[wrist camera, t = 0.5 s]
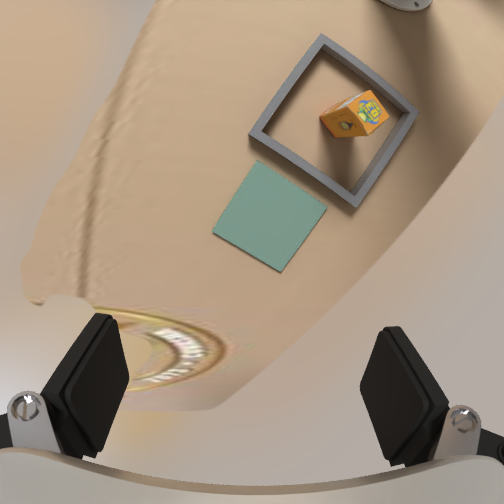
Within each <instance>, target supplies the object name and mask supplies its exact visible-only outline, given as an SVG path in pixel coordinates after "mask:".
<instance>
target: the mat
mask: <svg viewBox="0 0 504 504" xmlns="http://www.w3.org/2000/svg"><path fill="white" fill-rule="evenodd" d="M326 208H327V206H325V205H324V204H322V203H321V202H320V201H318V200H317V199H315V198H314V197H312V196H311V195H309V194H308V193H307V192H305V191H304V190H302V189H301V188H299V187H298V186H296V185H295V184H293V183H292V182H290V181H289V180H287V179H286V178H284V177H283V176H281V175H280V174H278V173H277V172H275V171H273V170H272V169H270V168H269V167H267V166H266V165H264V164H263V163H261V162H259V161H258V160H257V161H256V163H255V164H254V166H253V167H252V169H251V170H250V172H249V173H248V175H247V176H246V178H245V180H244V181H243V183H242V184H241V186H240V187H239V189H238V190H237V192H236V193H235V195H234V197H233V198H232V200H231V201H230V203H229V204H228V206H227V208H226V209H225V211H224V212H223V214H222V216H221V217H220V219H219V220H218V222H217V224H216V225H215V227H214V228H213V230H212V232H214V233H215V234H217V235H219V236H221V237H222V238H224V239H226V240H227V241H229V242H231V243H232V244H234V245H236V246H237V247H239V248H241V249H243V250H244V251H246V252H248V253H249V254H251V255H253V256H254V257H256V258H258V259H259V260H261V261H263V262H265V263H266V264H268V265H270V266H271V267H273V268H275V269H276V270H278V271H280V272H281V271H282V270H283V268H284V267H285V265H286V264H287V263H288V261H289V260H290V259H291V257H292V256H293V255H294V253H295V252H296V250H297V249H298V248H299V246H300V245H301V244H302V242H303V241H304V239H305V238H306V237H307V235H308V234H309V232H310V231H311V230H312V228H313V227H314V225H315V224H316V223H317V221H318V220H319V218H320V217H321V216H322V214H323V213H324V211H325V210H326Z"/></svg>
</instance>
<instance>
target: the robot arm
mask: <svg viewBox="0 0 504 504" xmlns="http://www.w3.org/2000/svg"><path fill="white" fill-rule="evenodd" d="M380 1H382V2H383V3H385V4H387V5H389V6H391V7H393V8H397V9H399V10H404V11H419V10H422V9H424V8H426V7H427V6H428V5H430V3H431V2H432V0H380ZM128 382H129V372H128V368H127V364H126V360H125V356H124V352H123V348H122V344H121V339H120V334H119V329H118V324H117V321H116V320H115V319H113V317H112V316H111V315H109V314H101V313H95V314H94V316H93V317H92V318H91V320H90V321H89V322H88V324H87V325H86V326H85V328H84V329H83V331H82V332H81V334H80V335H79V336H78V338H77V339H76V341H75V342H74V343H73V345H72V346H71V348H70V349H69V351H68V352H67V354H66V355H65V357H64V358H63V360H62V361H61V362H60V364H59V365H58V367H57V368H56V370H55V372H54V373H53V374H52V376H51V378H50V379H49V381H48V382H47V384H46V385H45V387H44V389H43V390H42V392H41V393H40V395H39V394H38V393H36V392H32V391H24V392H21V393H19V394H17V395H15V396H14V397H13V398H12V399H11V400H10V402H9V404H8V407H7V413H6V414H3V415H0V504H504V437H502V436H500V435H497V434H495V433H492V432H490V431H487V430H484V429H482V428H481V420H480V417H479V415H478V414H477V413H476V412H475V411H474V410H473V409H472V408H470V407H467V406H464V405H456V406H454V407H452V408H451V409H450V408H449V406H448V404H449V401H448V399H447V398H446V396H445V394H444V393H443V391H442V389H441V388H440V386H439V385H438V383H437V381H436V380H435V378H434V377H433V375H432V373H431V372H430V370H429V369H428V367H427V366H426V364H425V363H424V361H423V360H422V358H421V357H420V355H419V353H418V352H417V351H416V349H415V348H414V346H413V345H412V343H411V342H410V340H409V339H408V337H407V336H406V334H405V333H404V331H403V330H402V329H401V327H399V326H395V327H385V328H384V329H383V331H380V332H379V334H378V336H377V340H376V342H375V345H374V348H373V351H372V354H371V357H370V359H369V362H368V365H367V367H366V370H365V372H364V375H363V377H362V380H361V383H360V392H361V395H362V397H363V400H364V403H365V405H366V408H367V410H368V413H369V416H370V419H371V421H372V424H373V427H374V430H375V433H376V435H377V438H378V441H379V444H380V447H381V449H382V453H383V455H384V458H385V459H386V460H389V462H390V465H391V467H392V466H395V465H400V464H404V465H405V467H406V468H402V469H397V470H393V471H389V472H384V473H379V474H375V475H369V476H364V477H358V478H352V479H346V480H338V481H332V482H322V483H313V484H299V485H281V486H233V485H216V484H204V483H193V482H185V481H177V480H170V479H164V478H157V477H152V476H146V475H142V474H136V473H132V472H128V471H123V470H119V469H115V468H110V467H106V466H103V465H99V464H95V463H91V462H88V461H85V460H82V458H83V455H86V456H89V457H92V458H96V455H97V453H98V452H101V451H102V450H103V448H104V445H105V442H106V439H107V436H108V434H109V431H110V428H111V426H112V423H113V420H114V418H115V415H116V413H117V410H118V408H119V405H120V402H121V400H122V397H123V395H124V392H125V390H126V387H127V385H128Z"/></svg>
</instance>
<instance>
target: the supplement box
mask: <svg viewBox="0 0 504 504" xmlns="http://www.w3.org/2000/svg"><path fill="white" fill-rule="evenodd" d="M388 118H389V115H388V114H387V112H386V111H385V109H384V108H383V106H382V105H381V103H380V102H379V101H378V99H377V98H376V97H375V95H374V94H373V92H372V91H371V90H368V91H365V92H363V93H360V94H358V95H355V96H353V97H350V98H348V99H346V100H344V101H341V102H339V103H337V104H336V105H334V106H333V107H331V108H330V109H328V110H327V111H326V112H324V113H323V114H322V115H320V119H321V120H322V122H323V123H324V124H325V126H326V127H327V128H328V129H329V131H330V132H331V133H332V134H333V136H334V137H335V138H340V137H355V136H369V135H371V134H372V133H373V132H374V131H375V130H376V129H377V128H378V127H379V126H380V125H381V124H382V123H383V122H384V121H385V120H386V119H388Z"/></svg>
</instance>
